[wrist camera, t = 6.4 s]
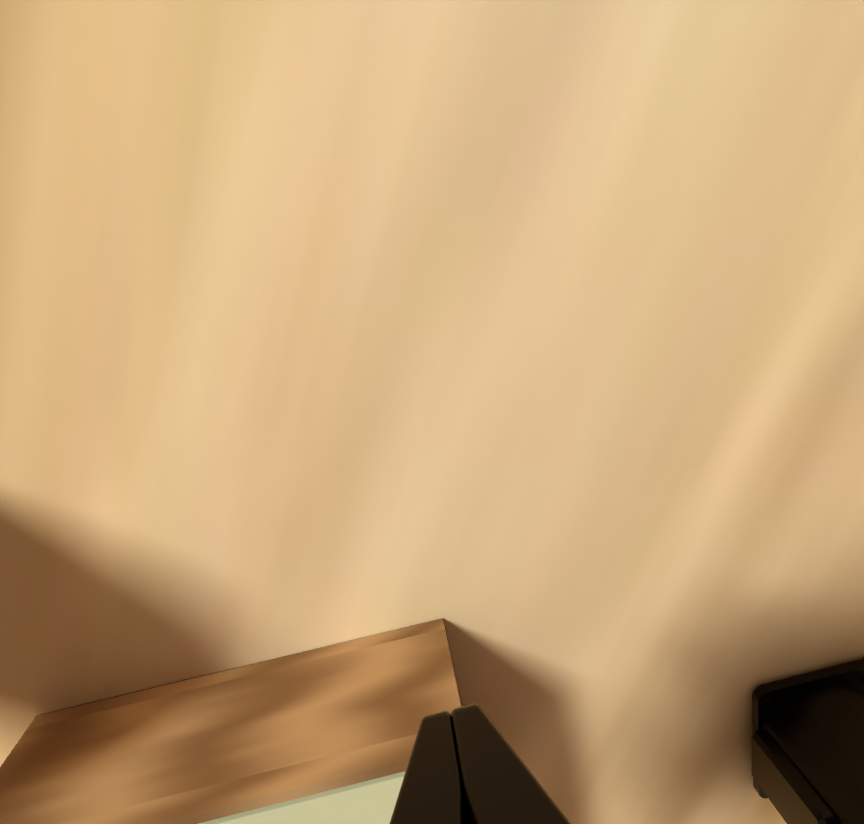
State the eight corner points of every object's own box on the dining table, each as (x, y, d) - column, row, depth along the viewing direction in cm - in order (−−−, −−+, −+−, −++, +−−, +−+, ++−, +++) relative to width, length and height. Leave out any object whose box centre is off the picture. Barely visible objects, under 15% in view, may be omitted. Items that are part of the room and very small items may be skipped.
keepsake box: (442, 618, 22) (468, 744, 16) (479, 782, 25) (512, 938, 19) (36, 715, 21) (-82, 883, 16) (121, 874, 24) (47, 1064, 18)
